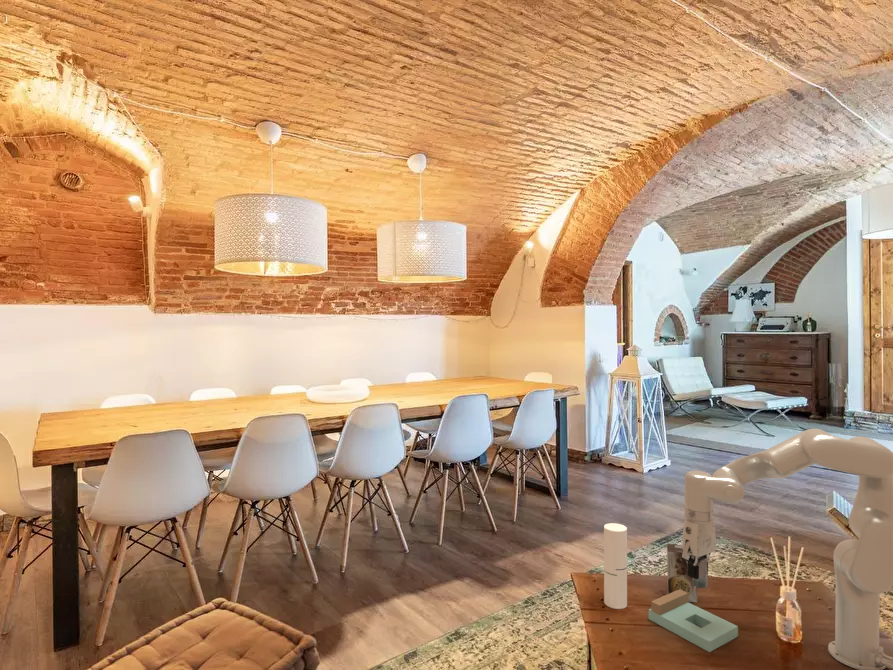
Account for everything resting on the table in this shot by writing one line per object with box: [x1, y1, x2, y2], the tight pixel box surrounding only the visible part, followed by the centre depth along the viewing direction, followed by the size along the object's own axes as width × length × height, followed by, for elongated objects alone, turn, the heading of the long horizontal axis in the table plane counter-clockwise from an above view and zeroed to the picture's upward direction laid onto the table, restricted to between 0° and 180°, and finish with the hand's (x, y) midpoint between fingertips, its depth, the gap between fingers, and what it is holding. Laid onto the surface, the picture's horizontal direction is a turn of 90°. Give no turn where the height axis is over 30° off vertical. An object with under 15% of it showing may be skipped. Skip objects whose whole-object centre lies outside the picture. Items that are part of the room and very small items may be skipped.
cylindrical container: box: [603, 522, 628, 610], centre depth 177 cm, size 7×7×25 cm
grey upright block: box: [692, 556, 708, 589], centre depth 160 cm, size 4×4×8 cm
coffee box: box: [666, 543, 698, 603], centre depth 181 cm, size 9×6×16 cm
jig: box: [648, 589, 739, 653], centre depth 163 cm, size 20×14×6 cm
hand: (697, 574), depth 161 cm, fingers closed on grey upright block, 4 cm apart
